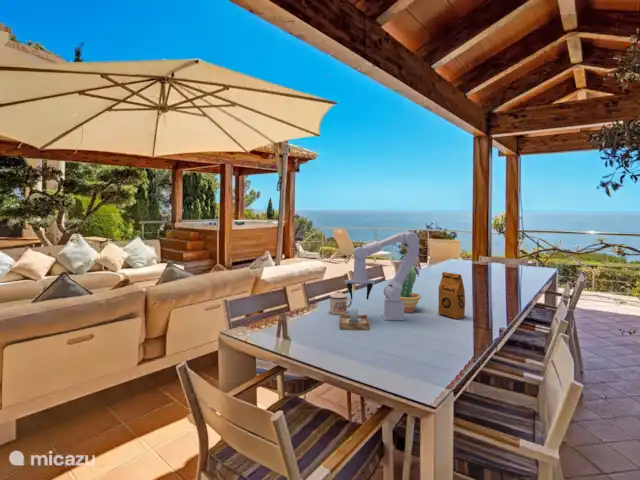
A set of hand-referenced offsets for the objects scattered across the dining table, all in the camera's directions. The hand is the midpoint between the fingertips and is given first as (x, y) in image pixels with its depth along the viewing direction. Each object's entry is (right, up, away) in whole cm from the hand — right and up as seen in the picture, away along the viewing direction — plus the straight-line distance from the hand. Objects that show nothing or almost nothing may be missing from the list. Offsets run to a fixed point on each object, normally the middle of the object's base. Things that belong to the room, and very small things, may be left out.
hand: (359, 299), depth 181 cm
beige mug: (-8, -9, +12) cm, 17 cm away
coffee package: (+47, -10, +6) cm, 49 cm away
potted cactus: (+27, -9, +18) cm, 34 cm away
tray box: (-4, -11, -10) cm, 15 cm away
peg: (-4, -11, -9) cm, 15 cm away
